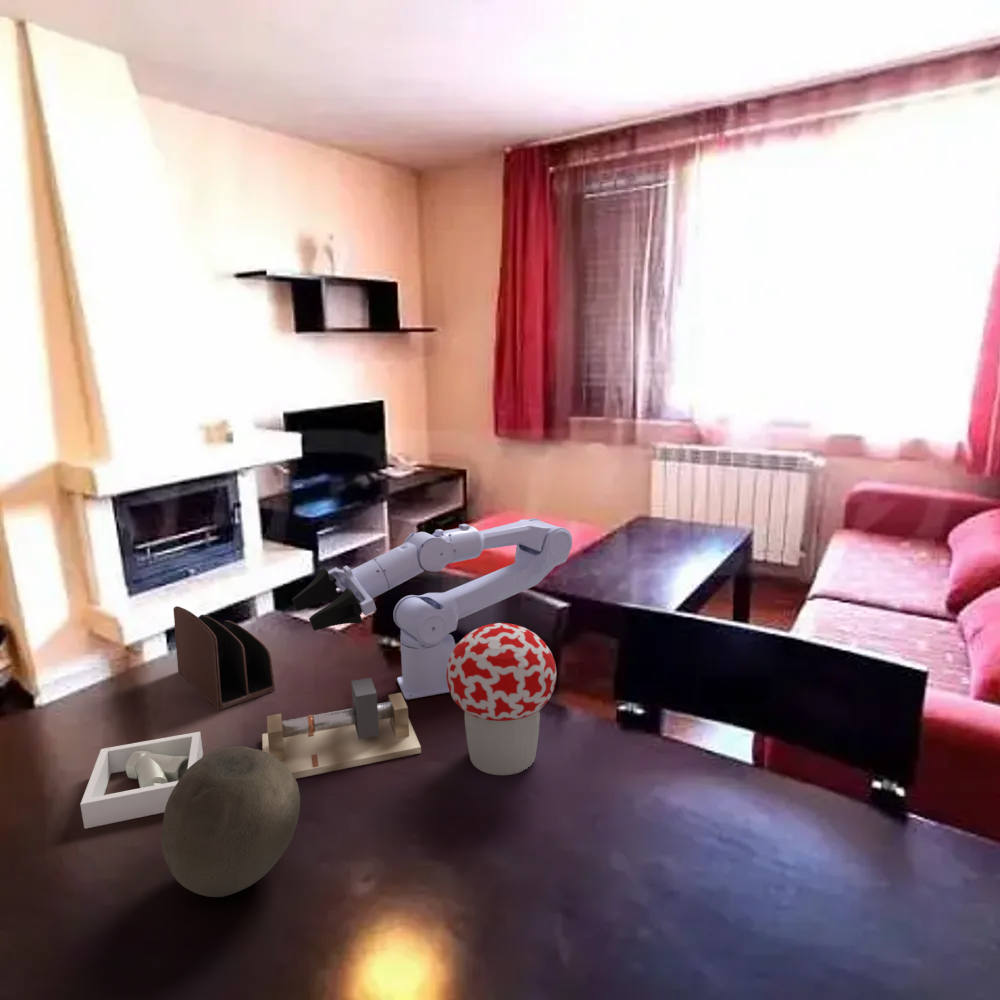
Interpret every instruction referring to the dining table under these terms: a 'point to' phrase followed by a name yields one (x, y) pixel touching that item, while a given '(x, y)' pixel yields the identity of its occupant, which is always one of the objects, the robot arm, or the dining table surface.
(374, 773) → the dining table surface
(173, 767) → the pipe fitting
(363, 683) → the collar
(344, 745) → the pipe stand
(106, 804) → the parts frame
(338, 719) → the pipe
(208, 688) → the letter holder
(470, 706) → the decorative object
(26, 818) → the dining table surface
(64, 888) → the dining table surface
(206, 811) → the kiwi fruit
